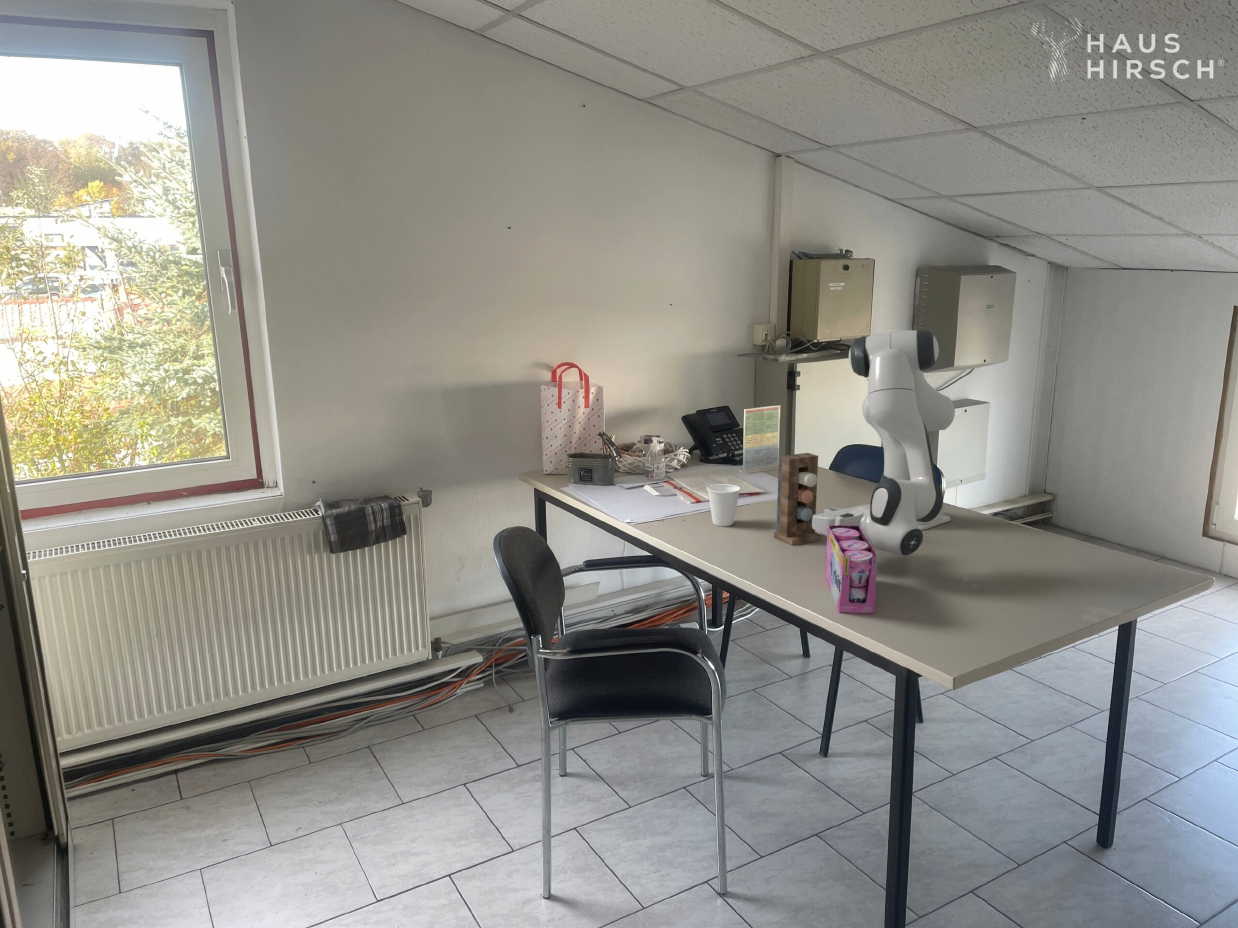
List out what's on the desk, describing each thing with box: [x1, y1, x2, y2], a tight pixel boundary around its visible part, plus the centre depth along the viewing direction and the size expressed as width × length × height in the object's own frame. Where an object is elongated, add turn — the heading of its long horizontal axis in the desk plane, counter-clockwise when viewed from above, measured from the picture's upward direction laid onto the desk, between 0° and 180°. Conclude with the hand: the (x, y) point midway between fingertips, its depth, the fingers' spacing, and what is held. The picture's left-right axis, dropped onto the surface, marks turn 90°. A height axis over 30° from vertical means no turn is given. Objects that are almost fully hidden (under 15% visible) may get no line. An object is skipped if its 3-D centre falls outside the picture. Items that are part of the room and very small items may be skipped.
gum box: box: [825, 525, 878, 615], centre depth 199 cm, size 24×8×14 cm, turn 175°
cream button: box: [798, 472, 818, 487], centre depth 235 cm, size 4×4×4 cm
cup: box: [706, 483, 742, 527], centre depth 255 cm, size 10×10×11 cm
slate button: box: [797, 506, 812, 521], centre depth 238 cm, size 4×4×4 cm
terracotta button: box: [797, 488, 813, 504], centre depth 237 cm, size 4×4×4 cm
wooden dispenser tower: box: [773, 452, 822, 546], centre depth 239 cm, size 10×8×24 cm
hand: (828, 510), depth 229 cm, fingers closed
